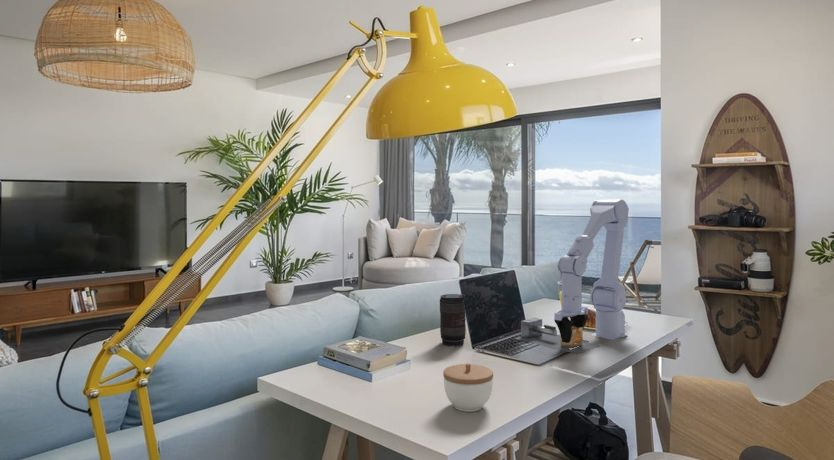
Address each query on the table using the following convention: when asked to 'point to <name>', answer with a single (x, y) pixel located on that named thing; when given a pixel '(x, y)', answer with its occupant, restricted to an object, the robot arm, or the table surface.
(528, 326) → the shaft assembly
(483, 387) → the lidded jar
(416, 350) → the table surface
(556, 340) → the mat
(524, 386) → the table surface
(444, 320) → the camera lens
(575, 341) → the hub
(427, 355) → the table surface
